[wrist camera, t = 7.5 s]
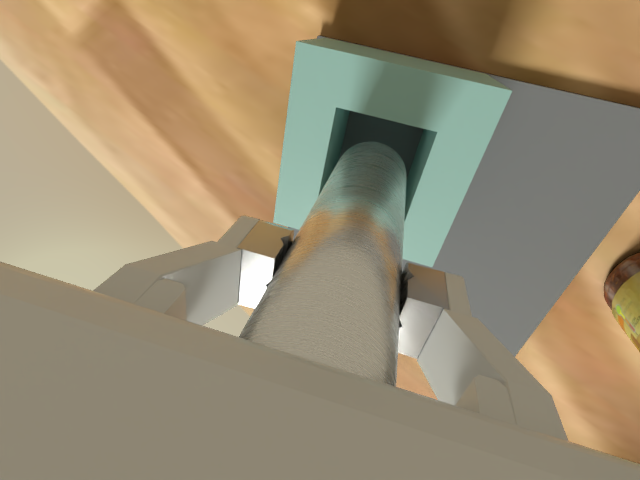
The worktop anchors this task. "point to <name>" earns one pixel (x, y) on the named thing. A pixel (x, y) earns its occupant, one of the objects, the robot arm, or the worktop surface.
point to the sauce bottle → (625, 296)
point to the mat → (529, 199)
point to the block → (395, 105)
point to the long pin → (343, 271)
